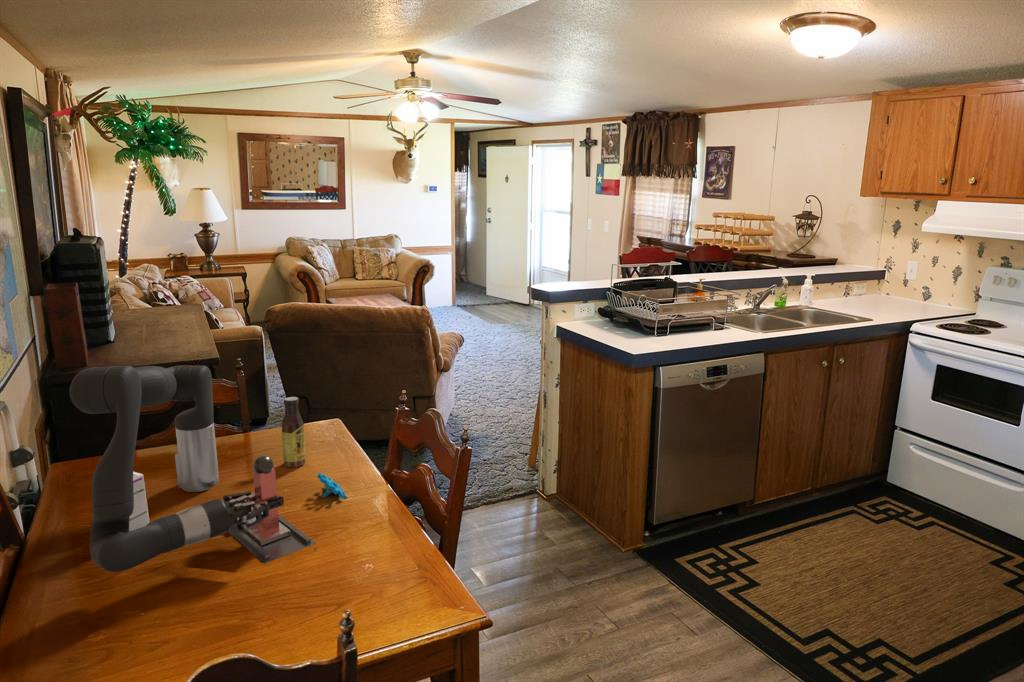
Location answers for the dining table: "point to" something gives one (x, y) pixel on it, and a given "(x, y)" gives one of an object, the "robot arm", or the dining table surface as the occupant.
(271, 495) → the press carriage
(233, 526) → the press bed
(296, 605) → the dining table surface
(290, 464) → the sauce bottle
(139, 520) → the syrup box
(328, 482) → the gear
